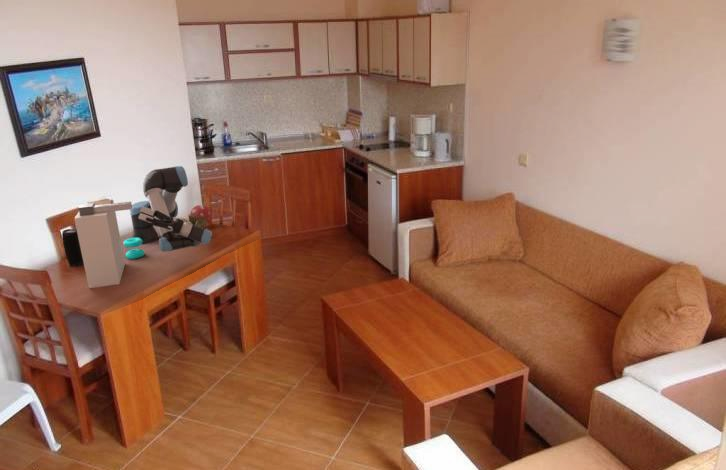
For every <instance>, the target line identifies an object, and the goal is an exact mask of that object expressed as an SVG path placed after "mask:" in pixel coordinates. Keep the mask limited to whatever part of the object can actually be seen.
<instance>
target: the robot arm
mask: <svg viewBox="0 0 726 470" xmlns="http://www.w3.org/2000/svg"><path fill="white" fill-rule="evenodd" d="M188 185H189V182H188V176H187V173H186V170H185V167H183V166H182V165H181V166H180V165H178V166H171V167H163V168H158V169H157V168H156V169H153V170H151V171H149V172H148V173H147V175H146V176H145V178H144V179H143V184H142V190H143V191H142V192H143V195H144V197H145V198H146V199H147V200H144V201H139V202H135V203H133V204H132V209H130V210H129V212H130V213H129V214H130V218H131V223H132V229H133V230H132V235H131V238H141V239H142V244H141V245H144V244H148V243H152V242H155V241H157V240H158V239H159V240H158V245H159V248H160V251H161V252H164V253H165V252H166V253H167V252H173V251H176V250H180V249H185V248H190V247H193V248H194V247H198V246H199V245H201V244H203V245H208V244H209V243H210V241H211V239H212V236H213V232H212V231H211V230H209V229H207V228H205V227H203V228H202V227H199V226H196V224H195V225H194V224H191V222H188V221H187V220H186V221H187V222H186V221H185V220H184V219H182V218H176V217H177V216H178V214H179V206H178V203H177V201H176V198H177V196H178V193H179V192H180V191H181V190H182V188H183V187H184V188H185V187H187V186H188ZM175 218H176V219H175ZM174 219H175V220H174ZM154 226H155V227H157V229H158V231H159V234H160V237H159V234H158V233H157V230H156V228H155V227H154Z"/></svg>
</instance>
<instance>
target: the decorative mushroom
mask: <svg viewBox="0 0 726 470" xmlns="http://www.w3.org/2000/svg"><path fill="white" fill-rule="evenodd" d="M190 213H191V214H192V216H193V217H194V219H195V216H196V215H197V214H198V215H197V218H198V217H199V216H200V215H202V216H200V217H199V218H198V220H199V219H200V218H201V219H200V220H199V221H198V220H197V221H196V224H197V223H198V224H197V225H199V227H203V228H205V227H207V225H208V220H207V219H208V218H210V217H211V216H212V211H211V210H210V208H209V207H208V206H206V205H204V204H199V205H196V206H193V208H192V209H191V211H190ZM190 213H189V215H190V216H191V214H190ZM191 218H192V217H191ZM197 218H196V219H197ZM199 222H200V223H199ZM201 222H202V223H201ZM204 226H205V227H204Z"/></svg>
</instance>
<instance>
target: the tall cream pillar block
mask: <svg viewBox="0 0 726 470" xmlns="http://www.w3.org/2000/svg"><path fill="white" fill-rule="evenodd" d="M86 203H95V205H103V204H112V203H115V201H114V200H113V199H105V200H95V201H94V200H93V201H87V202H86ZM116 212H117V211H111V212H102V213H94V214H93V215H84V216H80V213H79V211H78V212H77V214H76V215H75V216H74V224H75V229H77V234H78V239H79V243H80V248H81V253H82V258H83V262H84V263H83V266H84V271H85V276H86V281H87V286H88V288H89V289H95V288H101V287H107V286H115V285H120V283H121V280H122V276H123V273H124V268H125V265H126V262H125V257H124V255H125V254H124V251H123V246H122V245H123V244H122V240H121V235H120V230H119V225H118V219H117V213H116Z"/></svg>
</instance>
